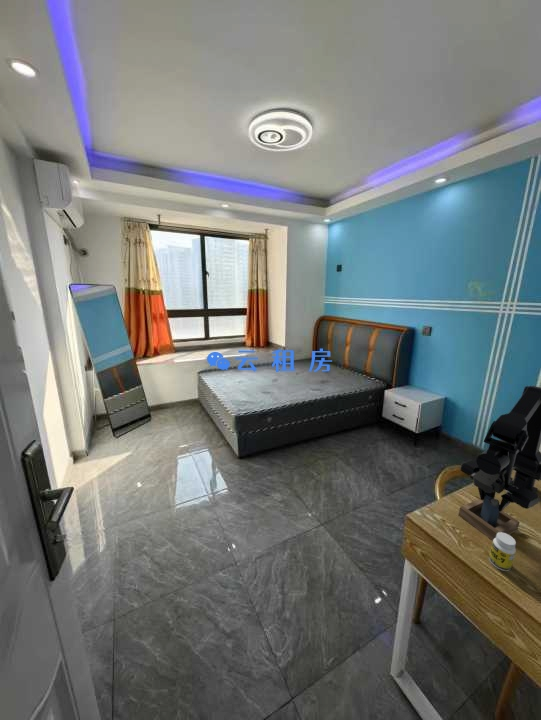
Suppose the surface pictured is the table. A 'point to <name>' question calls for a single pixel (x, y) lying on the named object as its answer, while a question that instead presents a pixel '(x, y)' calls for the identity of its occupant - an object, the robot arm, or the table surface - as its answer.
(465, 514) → the socket block
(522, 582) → the table surface
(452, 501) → the table surface
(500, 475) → the robot arm
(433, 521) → the table surface
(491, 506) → the vaping device
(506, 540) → the supplement bottle
